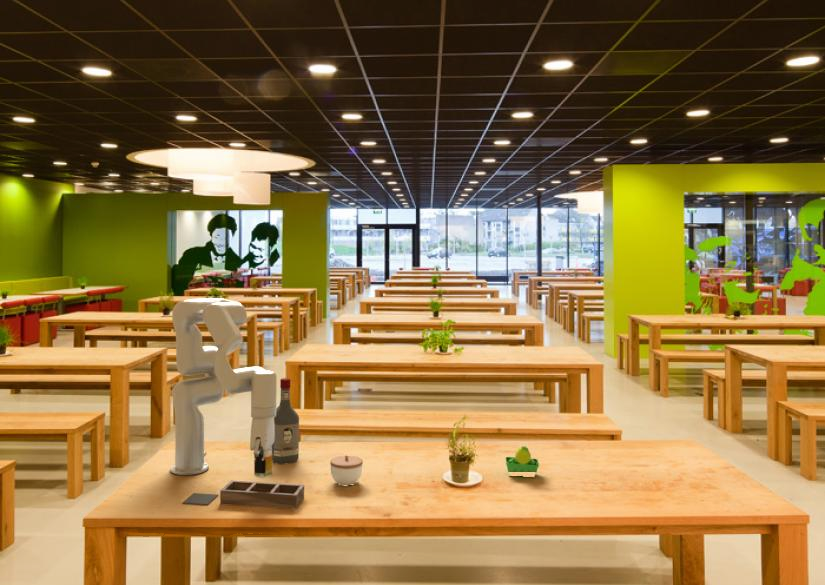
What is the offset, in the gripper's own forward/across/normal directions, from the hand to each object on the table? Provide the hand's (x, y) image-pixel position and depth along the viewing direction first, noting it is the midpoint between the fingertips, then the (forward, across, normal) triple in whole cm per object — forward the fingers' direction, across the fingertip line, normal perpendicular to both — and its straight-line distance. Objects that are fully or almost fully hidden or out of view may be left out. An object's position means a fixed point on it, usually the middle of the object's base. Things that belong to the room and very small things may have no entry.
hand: (263, 469), depth 207 cm
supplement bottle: (+2, 0, 0) cm, 2 cm away
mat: (+10, +2, -19) cm, 22 cm away
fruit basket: (+11, -38, +81) cm, 90 cm away
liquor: (+10, -40, -5) cm, 42 cm away
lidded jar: (+10, -20, +22) cm, 31 cm away
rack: (+10, 0, 0) cm, 10 cm away
